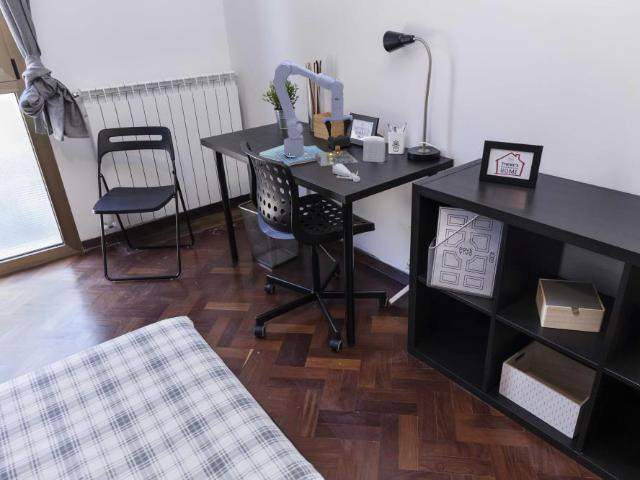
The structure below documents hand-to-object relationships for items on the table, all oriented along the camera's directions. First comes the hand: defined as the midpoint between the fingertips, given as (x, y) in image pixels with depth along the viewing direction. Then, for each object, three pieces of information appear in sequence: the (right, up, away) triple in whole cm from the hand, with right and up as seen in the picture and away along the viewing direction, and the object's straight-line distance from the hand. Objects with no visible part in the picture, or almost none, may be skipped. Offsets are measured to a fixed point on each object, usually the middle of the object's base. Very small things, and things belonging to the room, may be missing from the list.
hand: (337, 136), depth 231 cm
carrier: (-2, -12, -1) cm, 12 cm away
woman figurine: (+3, -23, -23) cm, 32 cm away
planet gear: (0, -8, +4) cm, 9 cm away
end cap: (+1, -4, +15) cm, 16 cm away
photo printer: (+17, -14, -6) cm, 23 cm away
